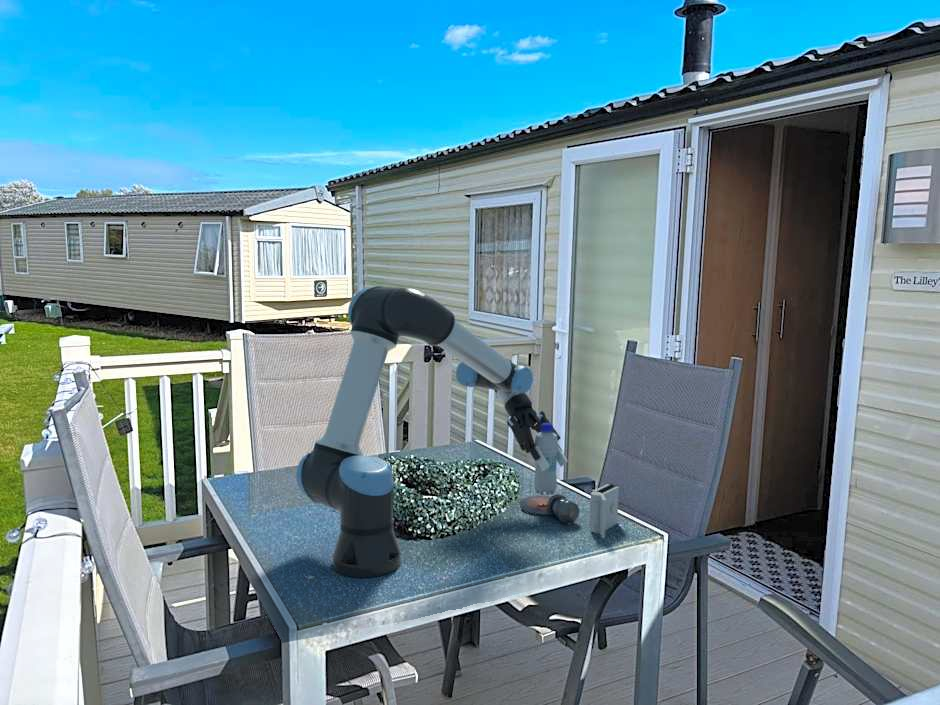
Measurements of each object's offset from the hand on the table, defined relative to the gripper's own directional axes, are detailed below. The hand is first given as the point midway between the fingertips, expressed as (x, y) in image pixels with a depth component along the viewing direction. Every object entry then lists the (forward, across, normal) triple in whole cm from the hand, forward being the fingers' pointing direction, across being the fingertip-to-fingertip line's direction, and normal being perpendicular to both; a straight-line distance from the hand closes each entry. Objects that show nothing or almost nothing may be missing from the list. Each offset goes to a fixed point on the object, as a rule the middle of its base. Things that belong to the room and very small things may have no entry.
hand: (555, 466), depth 187 cm
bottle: (+4, 0, -9) cm, 9 cm away
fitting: (+9, +1, -9) cm, 13 cm away
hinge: (+22, 0, +4) cm, 22 cm away
